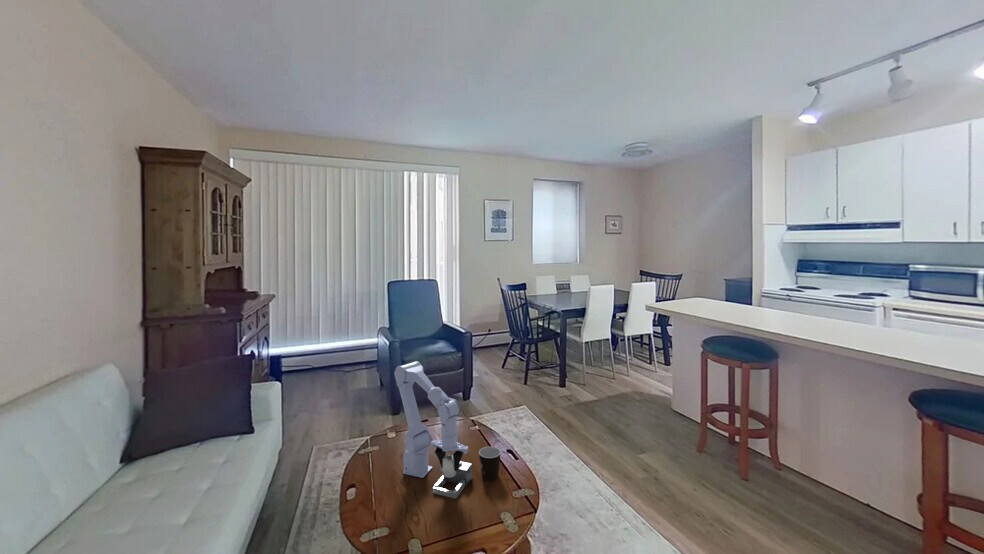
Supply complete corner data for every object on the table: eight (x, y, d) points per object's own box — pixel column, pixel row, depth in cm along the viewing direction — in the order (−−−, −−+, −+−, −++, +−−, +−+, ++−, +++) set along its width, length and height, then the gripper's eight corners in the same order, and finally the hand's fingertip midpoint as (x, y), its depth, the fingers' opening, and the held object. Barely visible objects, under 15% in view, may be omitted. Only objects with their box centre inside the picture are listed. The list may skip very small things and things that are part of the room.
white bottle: (440, 475, 145) (439, 457, 145) (447, 468, 150) (447, 450, 149) (451, 478, 143) (451, 460, 143) (458, 471, 148) (458, 453, 147)
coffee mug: (498, 484, 150) (498, 459, 149) (477, 481, 152) (476, 456, 151) (503, 467, 161) (503, 443, 160) (483, 465, 163) (483, 442, 162)
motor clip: (471, 478, 154) (471, 461, 153) (456, 499, 141) (456, 480, 141) (443, 471, 158) (443, 455, 158) (426, 491, 146) (426, 473, 145)
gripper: (426, 434, 145) (427, 469, 146) (462, 441, 139) (462, 477, 140) (436, 426, 151) (436, 460, 152) (470, 432, 146) (470, 467, 147)
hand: (449, 468), depth 147 cm, fingers closed on white bottle, 5 cm apart
